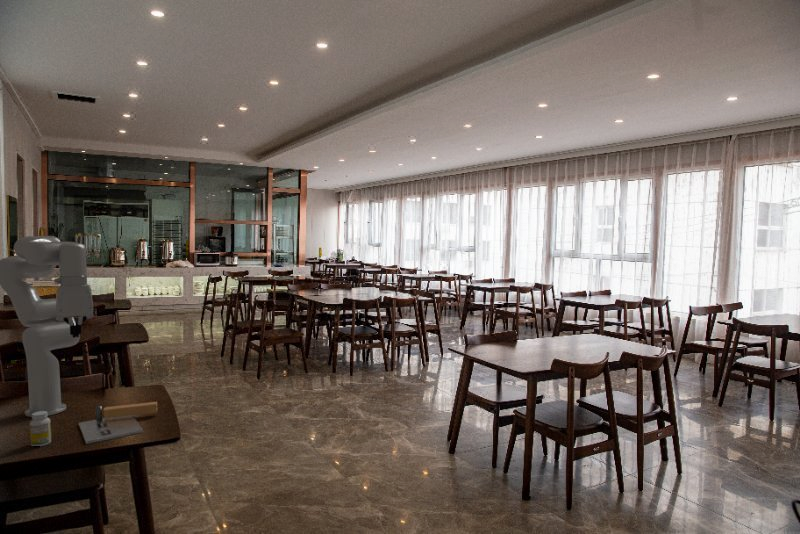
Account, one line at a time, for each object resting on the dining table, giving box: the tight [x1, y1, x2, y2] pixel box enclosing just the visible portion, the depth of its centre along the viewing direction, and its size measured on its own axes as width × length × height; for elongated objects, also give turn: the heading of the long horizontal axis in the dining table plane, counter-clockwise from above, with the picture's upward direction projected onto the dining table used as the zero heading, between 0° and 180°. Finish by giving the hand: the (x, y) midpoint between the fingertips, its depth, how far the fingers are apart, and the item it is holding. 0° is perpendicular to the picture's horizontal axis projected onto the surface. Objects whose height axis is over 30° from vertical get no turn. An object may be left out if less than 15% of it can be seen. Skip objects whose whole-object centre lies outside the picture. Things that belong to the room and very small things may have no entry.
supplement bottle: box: [29, 411, 52, 447], centre depth 166 cm, size 5×5×10 cm
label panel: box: [78, 405, 144, 445], centre depth 178 cm, size 20×16×6 cm
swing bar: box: [102, 401, 158, 419], centre depth 188 cm, size 16×3×3 cm, turn 110°
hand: (75, 336), depth 178 cm, fingers closed
